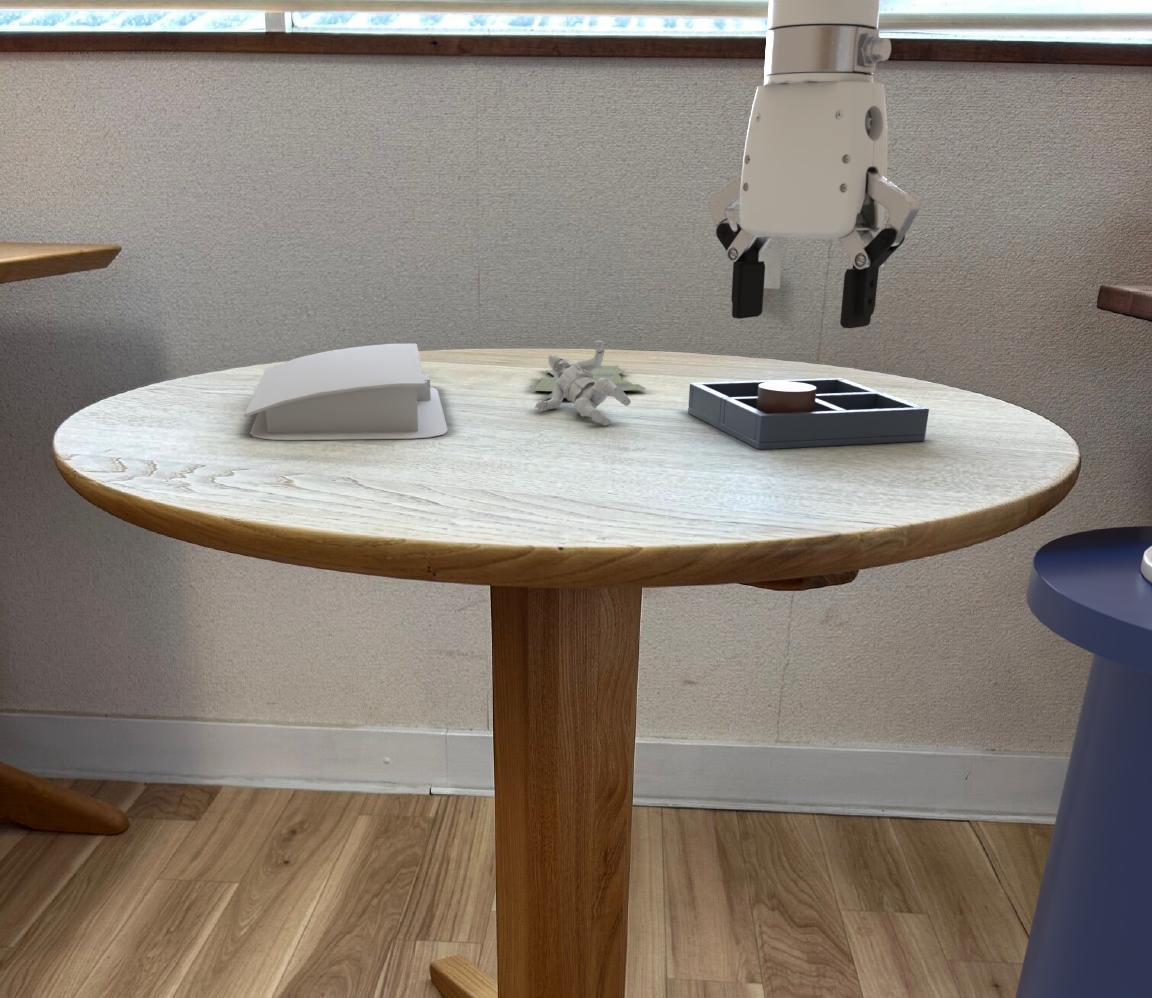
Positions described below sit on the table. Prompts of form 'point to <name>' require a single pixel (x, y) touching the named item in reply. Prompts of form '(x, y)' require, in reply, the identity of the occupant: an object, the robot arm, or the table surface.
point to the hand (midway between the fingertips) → (799, 321)
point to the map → (598, 373)
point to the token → (785, 397)
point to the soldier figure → (582, 386)
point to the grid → (809, 415)
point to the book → (348, 397)
